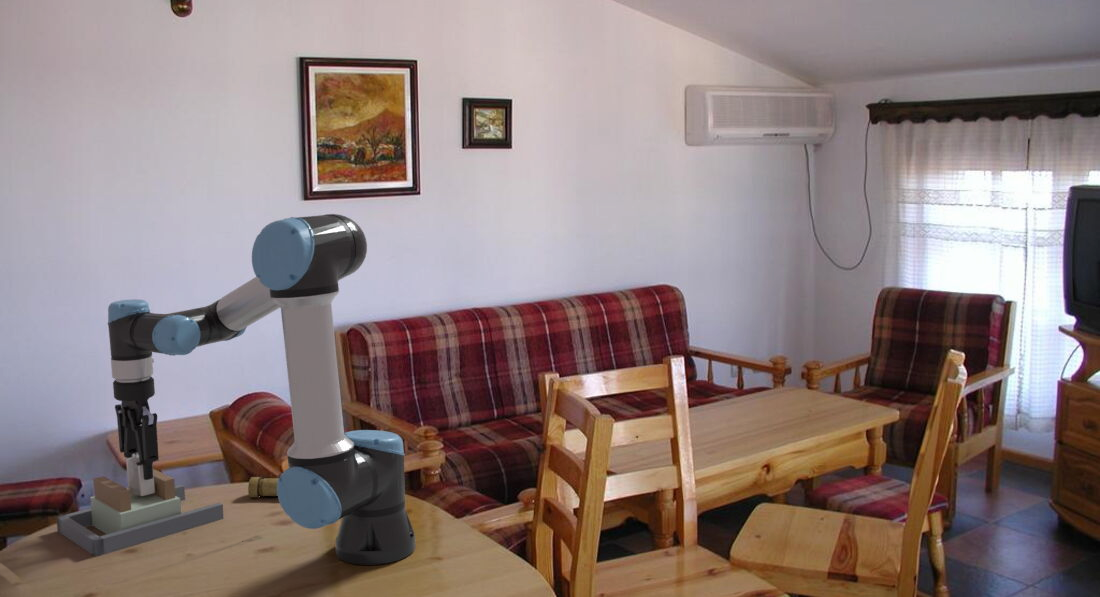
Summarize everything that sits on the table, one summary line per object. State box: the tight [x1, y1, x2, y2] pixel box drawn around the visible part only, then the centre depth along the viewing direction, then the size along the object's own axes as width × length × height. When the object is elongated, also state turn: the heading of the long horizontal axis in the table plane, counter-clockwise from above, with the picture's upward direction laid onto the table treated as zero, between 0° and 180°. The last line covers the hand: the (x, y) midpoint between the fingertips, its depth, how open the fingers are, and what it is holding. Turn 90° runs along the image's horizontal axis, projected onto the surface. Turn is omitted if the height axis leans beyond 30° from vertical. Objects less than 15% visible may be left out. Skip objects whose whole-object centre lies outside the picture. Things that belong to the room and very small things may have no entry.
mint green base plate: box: [89, 468, 182, 535], centre depth 202 cm, size 14×12×10 cm
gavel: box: [247, 471, 282, 498], centre depth 230 cm, size 21×5×10 cm
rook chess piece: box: [129, 453, 140, 496], centre depth 202 cm, size 4×4×8 cm
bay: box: [56, 484, 225, 558], centre depth 203 cm, size 18×26×4 cm
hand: (141, 490), depth 202 cm, fingers closed on rook chess piece, 4 cm apart
